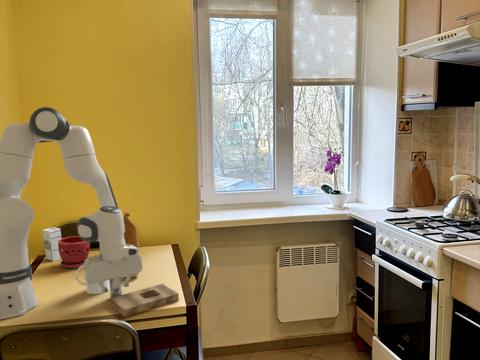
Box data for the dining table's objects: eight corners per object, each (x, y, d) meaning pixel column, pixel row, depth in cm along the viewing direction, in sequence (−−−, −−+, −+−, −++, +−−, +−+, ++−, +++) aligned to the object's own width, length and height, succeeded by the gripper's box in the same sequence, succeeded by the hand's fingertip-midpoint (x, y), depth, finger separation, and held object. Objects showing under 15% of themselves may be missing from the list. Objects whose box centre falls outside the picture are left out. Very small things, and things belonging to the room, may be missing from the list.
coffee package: (140, 252, 210) (138, 207, 207) (139, 260, 198) (136, 212, 195) (119, 253, 208) (116, 208, 205) (116, 261, 196) (113, 214, 193)
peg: (113, 300, 153) (111, 279, 152) (108, 297, 157) (107, 276, 155) (123, 297, 156) (122, 276, 155) (119, 294, 159) (118, 273, 158)
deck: (124, 317, 140) (124, 309, 140) (110, 305, 150) (110, 298, 149) (178, 300, 152) (178, 293, 152) (162, 290, 162) (162, 283, 161)
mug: (77, 297, 157) (75, 265, 155) (76, 289, 165) (74, 259, 163) (111, 291, 162) (109, 260, 160) (108, 284, 169) (106, 254, 168)
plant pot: (73, 272, 184) (71, 244, 183) (53, 267, 191) (51, 241, 189) (97, 262, 196) (95, 237, 194) (77, 258, 202) (75, 233, 200)
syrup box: (63, 258, 204) (61, 228, 202) (52, 261, 199) (49, 230, 197) (56, 256, 207) (53, 226, 205) (45, 259, 202) (42, 229, 200)
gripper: (86, 260, 145) (89, 299, 147) (143, 248, 157) (145, 284, 159) (80, 256, 150) (83, 294, 152) (135, 244, 162) (138, 280, 164)
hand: (115, 289), depth 156 cm, fingers open, 6 cm apart
